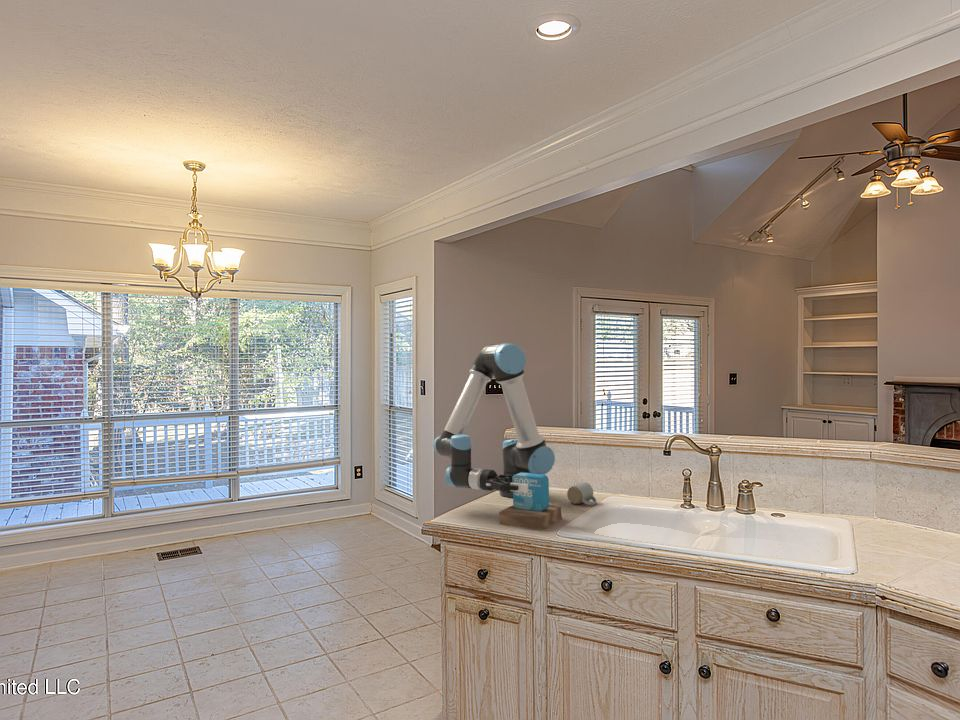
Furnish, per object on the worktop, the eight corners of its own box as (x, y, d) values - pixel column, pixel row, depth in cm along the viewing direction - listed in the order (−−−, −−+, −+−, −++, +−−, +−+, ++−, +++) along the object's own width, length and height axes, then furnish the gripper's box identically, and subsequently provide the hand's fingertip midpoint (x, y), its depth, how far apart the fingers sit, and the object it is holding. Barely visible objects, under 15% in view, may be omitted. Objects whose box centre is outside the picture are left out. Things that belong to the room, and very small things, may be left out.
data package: (513, 508, 213) (512, 474, 213) (519, 505, 217) (518, 471, 217) (544, 512, 207) (543, 477, 207) (549, 509, 211) (548, 474, 210)
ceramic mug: (565, 503, 236) (565, 483, 236) (577, 499, 242) (577, 480, 242) (589, 508, 229) (589, 487, 229) (600, 503, 235) (600, 484, 235)
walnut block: (521, 515, 223) (521, 501, 223) (561, 520, 215) (561, 506, 215) (499, 526, 209) (499, 511, 209) (541, 532, 201) (541, 517, 201)
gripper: (500, 483, 232) (551, 488, 221) (465, 496, 211) (520, 503, 200) (500, 463, 232) (551, 467, 221) (465, 475, 211) (519, 480, 200)
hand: (536, 484), depth 211 cm, fingers open, 12 cm apart
